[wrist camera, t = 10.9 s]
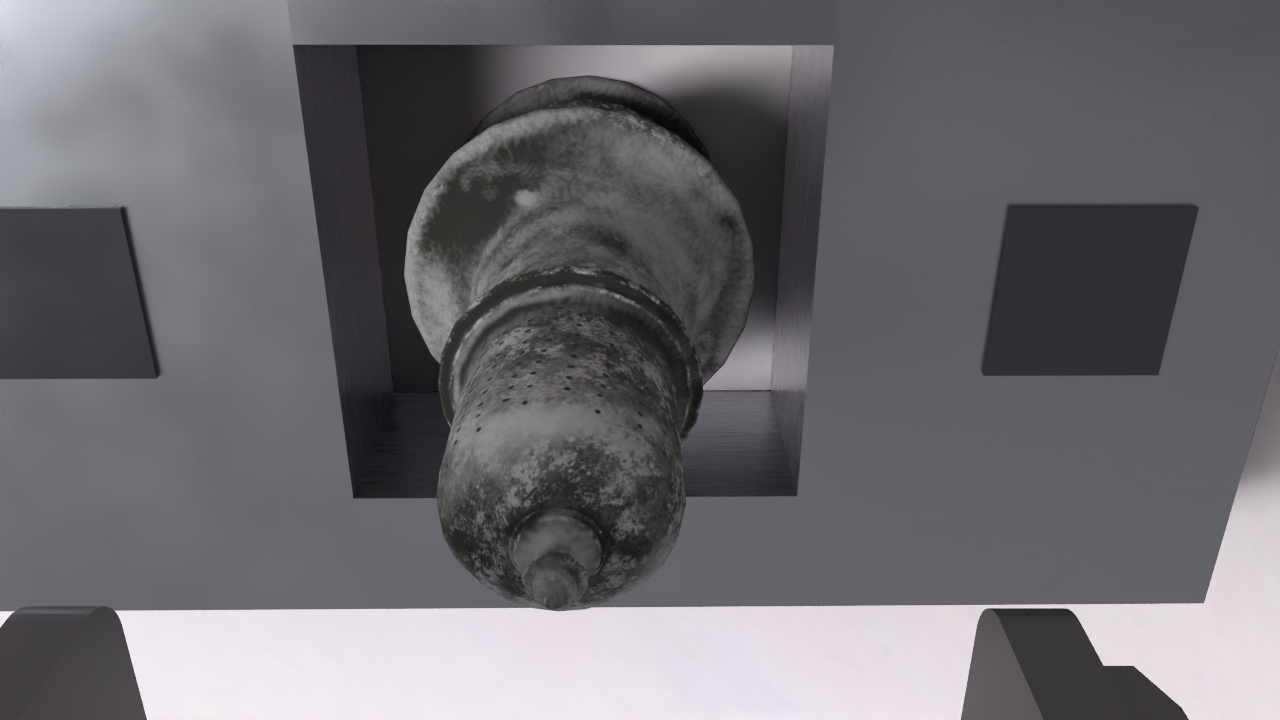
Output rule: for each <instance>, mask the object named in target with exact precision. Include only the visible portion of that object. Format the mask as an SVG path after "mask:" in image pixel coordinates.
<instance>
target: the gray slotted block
mask: <svg viewBox="0 0 1280 720" xmlns="http://www.w3.org/2000/svg"><path fill="white" fill-rule="evenodd" d="M356 45H793V56H792V71H791V87H790V102H789V117H788V133H787V148H786V163H785V179H784V194H783V209H782V225H781V240H780V256H779V271H778V286H777V302H776V317H775V332H774V348H773V363H772V378H771V391H703V397H702V401H701V405H700V409H699V414H698V418H697V422H696V424H695V426H694V427H693V429H692V431H691V433H690V434H689V436H688V438H687V440H686V441H685V443H684V445H683V447H682V448H681V454H682V464H683V475H684V486H685V498H686V507H685V511H684V515H683V520H682V524H681V528H680V532H679V535H678V539H677V542H676V544H675V546H674V548H673V549H672V551H671V553H670V554H669V556H668V558H667V560H666V561H665V563H664V565H663V566H662V567H661V568H660V569H659V570H658V571H657V572H656V573H655V574H654V575H653V576H651V577H650V578H649V579H648V580H647V581H646V582H645V583H644V584H643V585H641V586H640V587H638V588H636V589H634V590H632V591H631V592H629V593H627V594H625V595H623V596H622V597H620V598H618V599H616V600H613V601H611V602H608V603H604V604H601V605H598V606H594V607H705V606H855V605H1006V604H1156V603H1204V600H1205V597H1206V594H1207V590H1208V587H1209V583H1210V580H1211V577H1212V573H1213V570H1214V566H1215V563H1216V560H1217V556H1218V553H1219V549H1220V546H1221V542H1222V539H1223V536H1224V532H1225V529H1226V525H1227V522H1228V519H1229V515H1230V512H1231V508H1232V505H1233V501H1234V498H1235V495H1236V491H1237V488H1238V484H1239V481H1240V478H1241V474H1242V471H1243V467H1244V464H1245V461H1246V457H1247V454H1248V450H1249V447H1250V443H1251V440H1252V437H1253V433H1254V430H1255V426H1256V423H1257V420H1258V416H1259V413H1260V409H1261V406H1262V403H1263V399H1264V396H1265V392H1266V389H1267V385H1268V382H1269V379H1270V375H1271V372H1272V368H1273V365H1274V362H1275V358H1276V355H1277V351H1278V348H1279V345H1280V0H0V611H16V610H18V609H20V608H22V607H26V606H106V607H110V608H111V609H113V610H253V609H404V608H531V607H528V606H525V605H522V604H519V603H516V602H513V601H510V600H507V599H505V598H504V597H502V596H500V595H499V594H497V593H495V592H494V591H492V590H491V589H489V588H487V587H486V586H484V585H482V584H481V583H479V582H478V581H476V580H475V579H474V578H473V577H472V576H471V575H470V574H469V573H468V572H467V571H466V570H465V569H464V568H463V567H462V566H461V565H460V564H459V563H458V562H457V561H456V559H455V557H454V555H453V554H452V552H451V550H450V548H449V546H448V545H447V543H446V541H445V539H444V537H443V532H442V527H441V523H440V518H439V513H438V506H437V489H438V480H439V472H440V468H441V464H442V460H443V457H444V453H445V449H446V446H447V442H448V438H449V434H450V431H451V428H450V426H449V424H448V422H447V420H446V418H445V416H444V414H443V409H442V403H441V398H440V393H439V392H396V393H394V390H393V381H392V371H391V362H390V353H389V344H388V335H387V325H386V316H385V307H384V298H383V288H382V279H381V270H380V261H379V251H378V242H377V233H376V224H375V215H374V205H373V196H372V187H371V178H370V168H369V159H368V150H367V141H366V132H365V122H364V113H363V104H362V95H361V85H360V76H359V67H358V58H357V48H356Z"/></svg>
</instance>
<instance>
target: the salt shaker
mask: <svg viewBox="0 0 1280 720" xmlns="http://www.w3.org/2000/svg"><path fill="white" fill-rule="evenodd" d="M404 277H405V282H406V288H407V293H408V298H409V303H410V308H411V313H412V317H413V319H414V321H415V323H416V325H417V327H418V329H419V331H420V333H421V335H422V337H423V339H424V341H425V343H426V345H427V347H428V349H429V351H430V353H431V355H432V356H433V357H434V358H435V359H436V360H437V361H438V363H439V364H440V370H439V379H438V388H439V393H440V398H441V403H442V409H443V414H444V416H445V418H446V420H447V422H448V424H449V426H450V428H451V431H450V434H449V438H448V442H447V446H446V449H445V453H444V457H443V460H442V464H441V468H440V472H439V480H438V489H437V506H438V513H439V518H440V523H441V527H442V532H443V537H444V539H445V541H446V543H447V545H448V546H449V548H450V550H451V552H452V554H453V555H454V557H455V559H456V561H457V562H458V563H459V564H460V565H461V566H462V567H463V568H464V569H465V570H466V571H467V572H468V573H469V574H470V575H471V576H472V577H473V578H474V579H475V580H476V581H478V582H479V583H481V584H482V585H484V586H486V587H487V588H489V589H491V590H492V591H494V592H495V593H497V594H499V595H500V596H502V597H504V598H505V599H507V600H510V601H513V602H516V603H519V604H522V605H525V606H528V607H531V608H537V609H545V610H553V611H567V610H580V609H587V608H591V607H594V606H598V605H601V604H604V603H608V602H611V601H613V600H616V599H618V598H620V597H622V596H623V595H625V594H627V593H629V592H631V591H632V590H634V589H636V588H638V587H640V586H641V585H643V584H644V583H645V582H646V581H647V580H648V579H649V578H650V577H651V576H653V575H654V574H655V573H656V572H657V571H658V570H659V569H660V568H661V567H662V566H663V565H664V563H665V561H666V560H667V558H668V556H669V554H670V553H671V551H672V549H673V548H674V546H675V544H676V542H677V539H678V535H679V532H680V528H681V524H682V520H683V515H684V511H685V507H686V498H685V486H684V475H683V464H682V454H681V448H682V447H683V445H684V443H685V441H686V440H687V438H688V436H689V434H690V433H691V431H692V429H693V427H694V426H695V424H696V422H697V418H698V414H699V409H700V405H701V401H702V397H703V385H704V384H705V383H706V382H707V381H708V380H709V379H710V378H711V377H712V376H713V375H714V374H715V373H716V372H717V371H718V370H719V369H720V368H721V367H722V366H723V365H724V364H725V362H726V360H727V358H728V356H729V355H730V353H731V351H732V349H733V347H734V346H735V344H736V342H737V340H738V338H739V337H740V335H741V333H742V331H743V330H744V328H745V324H746V320H747V316H748V312H749V307H750V303H751V299H752V295H753V291H754V265H753V244H752V241H751V238H750V235H749V232H748V229H747V226H746V223H745V220H744V217H743V214H742V211H741V208H740V205H739V202H738V200H737V199H736V197H735V196H734V194H733V193H732V191H731V190H730V188H729V187H728V186H727V184H726V183H725V181H724V180H723V178H722V177H721V175H720V174H719V173H718V171H717V170H716V168H715V167H714V165H713V164H712V163H711V160H710V157H709V155H708V152H707V149H706V148H705V146H704V145H703V144H702V142H701V141H700V139H699V138H698V136H697V135H696V133H695V132H694V130H693V129H692V128H691V126H690V125H689V123H688V122H687V121H686V120H685V119H684V118H683V117H682V116H680V115H679V114H678V113H677V112H676V111H675V110H673V109H672V108H671V107H670V106H669V105H667V104H666V103H665V102H664V101H663V100H661V99H660V98H659V97H657V96H655V95H653V94H650V93H648V92H646V91H644V90H642V89H640V88H638V87H635V86H633V85H631V84H629V83H627V82H623V81H617V80H611V79H605V78H600V77H594V76H580V77H569V78H558V79H551V80H548V81H546V82H543V83H540V84H538V85H535V86H532V87H530V88H527V89H524V90H522V91H519V92H517V93H516V94H514V95H513V96H512V97H510V98H509V99H507V100H506V101H505V102H503V103H502V104H501V105H499V106H498V107H496V108H495V109H494V110H492V111H491V112H490V113H488V115H487V116H486V117H485V119H484V120H483V121H482V122H481V124H480V125H479V126H478V127H477V129H476V130H475V131H474V133H473V134H472V135H471V136H470V138H469V139H468V140H467V142H466V144H465V145H464V146H462V147H461V148H460V149H458V150H457V151H455V152H454V153H453V154H452V155H451V156H450V158H449V159H448V160H447V161H446V163H445V164H444V165H443V166H442V168H441V169H440V170H439V172H438V173H437V174H436V175H435V177H434V178H433V179H432V181H431V182H430V183H429V184H428V186H427V187H426V188H425V190H424V192H423V195H422V197H421V200H420V202H419V205H418V207H417V210H416V212H415V215H414V217H413V220H412V222H411V225H410V227H409V230H408V235H407V246H406V257H405V269H404Z"/></svg>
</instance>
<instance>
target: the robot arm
mask: <svg viewBox="0 0 1280 720" xmlns="http://www.w3.org/2000/svg"><path fill="white" fill-rule="evenodd" d="M0 720H147V719H146V715H145V711H144V707H143V704H142V700H141V696H140V692H139V688H138V685H137V681H136V677H135V673H134V669H133V666H132V662H131V658H130V654H129V650H128V647H127V643H126V639H125V635H124V631H123V628H122V624H121V621H120V619H119V617H118V615H117V614H116V612H115V611H114V610H113V609H111V608H110V607H106V606H26V607H22V608H20V609H18V610H16V611H15V612H14V613H12V614H11V615H10V617H9V618H8V619H7V620H6V621H5V623H4V624H3V625H2V626H1V628H0ZM961 720H1189V719H1188V718H1187V716H1186V714H1185V713H1184V711H1183V709H1182V708H1181V707H1180V706H1179V705H1178V704H1176V703H1175V702H1174V701H1173V700H1172V699H1171V698H1170V697H1168V696H1167V695H1166V694H1165V693H1164V692H1163V691H1161V690H1160V689H1159V688H1158V687H1157V686H1156V685H1155V684H1153V683H1152V682H1151V681H1150V680H1149V679H1148V678H1147V677H1145V676H1144V675H1143V674H1142V673H1141V672H1140V671H1138V670H1137V669H1136V668H1135V667H1134V666H1103V664H1102V662H1101V661H1100V659H1099V657H1098V655H1097V653H1096V651H1095V649H1094V648H1093V646H1092V644H1091V642H1090V640H1089V638H1088V636H1087V635H1086V633H1085V631H1084V629H1083V627H1082V625H1081V623H1080V622H1079V620H1078V618H1077V617H1076V615H1075V614H1074V613H1073V612H1072V611H1070V610H1069V609H985V610H984V611H983V612H982V614H981V616H980V618H979V621H978V625H977V630H976V636H975V642H974V647H973V653H972V659H971V665H970V670H969V676H968V682H967V688H966V693H965V699H964V705H963V711H962V716H961Z"/></svg>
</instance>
